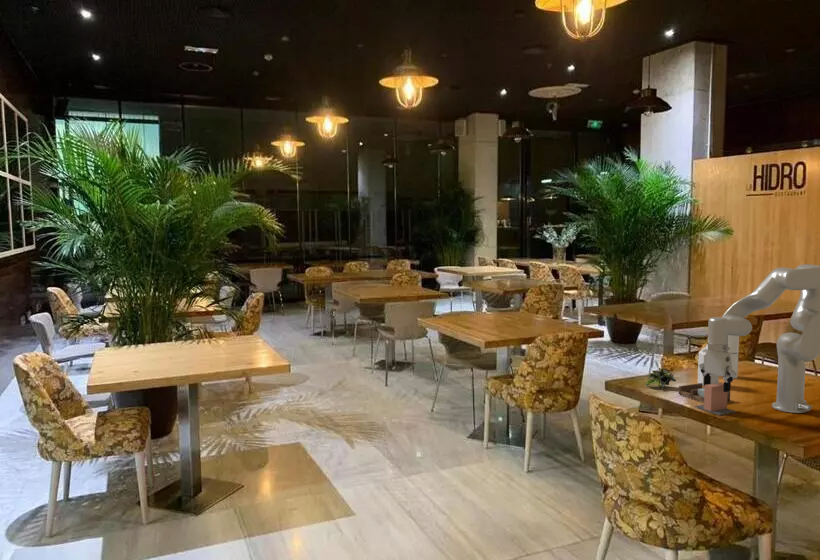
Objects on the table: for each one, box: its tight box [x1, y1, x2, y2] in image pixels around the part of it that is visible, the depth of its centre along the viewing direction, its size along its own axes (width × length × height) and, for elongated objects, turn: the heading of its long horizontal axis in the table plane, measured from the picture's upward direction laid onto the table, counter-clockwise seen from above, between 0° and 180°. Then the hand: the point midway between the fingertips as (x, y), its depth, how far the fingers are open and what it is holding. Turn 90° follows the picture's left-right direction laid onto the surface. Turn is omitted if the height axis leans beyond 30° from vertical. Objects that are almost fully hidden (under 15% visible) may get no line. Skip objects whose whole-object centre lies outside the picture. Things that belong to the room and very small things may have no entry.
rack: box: [678, 382, 731, 404], centre depth 272 cm, size 16×13×4 cm
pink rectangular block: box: [703, 382, 728, 411], centre depth 254 cm, size 4×9×10 cm, turn 112°
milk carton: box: [697, 343, 720, 387], centre depth 292 cm, size 7×7×19 cm
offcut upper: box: [698, 387, 705, 397], centre depth 269 cm, size 6×8×2 cm
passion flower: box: [645, 367, 677, 389], centre depth 289 cm, size 11×11×12 cm
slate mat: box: [694, 404, 737, 416], centre depth 255 cm, size 12×9×1 cm
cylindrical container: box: [726, 335, 740, 379], centre depth 307 cm, size 7×7×25 cm
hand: (716, 388), depth 254 cm, fingers open, 9 cm apart
